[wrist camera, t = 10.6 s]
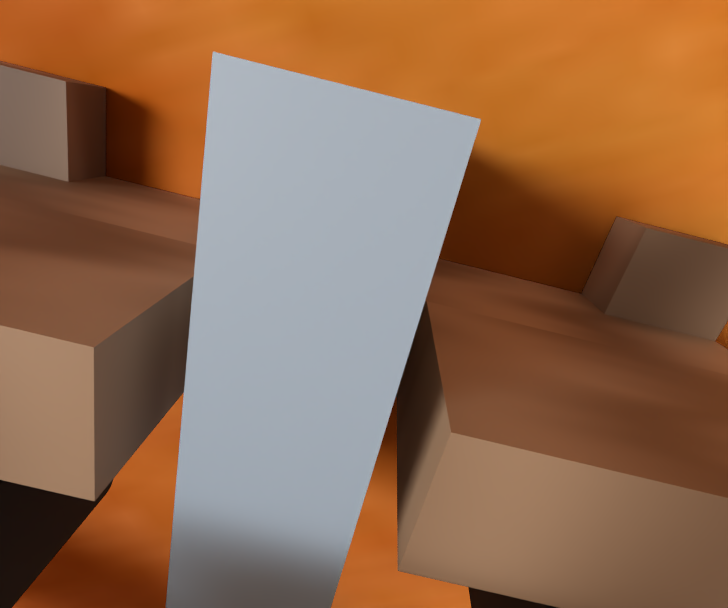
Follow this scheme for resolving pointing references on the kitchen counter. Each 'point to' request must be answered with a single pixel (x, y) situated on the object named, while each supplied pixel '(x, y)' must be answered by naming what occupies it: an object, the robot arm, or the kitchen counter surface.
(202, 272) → the blue slotted plate
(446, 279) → the walnut slotted rail
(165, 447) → the kitchen counter surface
